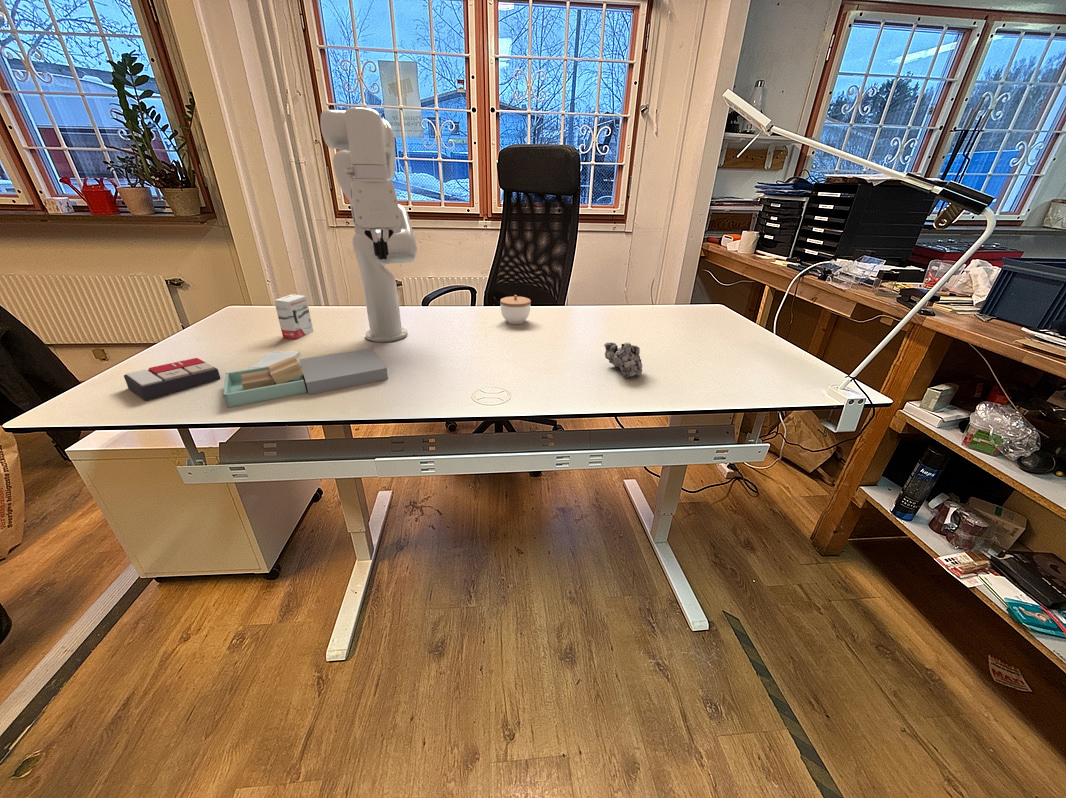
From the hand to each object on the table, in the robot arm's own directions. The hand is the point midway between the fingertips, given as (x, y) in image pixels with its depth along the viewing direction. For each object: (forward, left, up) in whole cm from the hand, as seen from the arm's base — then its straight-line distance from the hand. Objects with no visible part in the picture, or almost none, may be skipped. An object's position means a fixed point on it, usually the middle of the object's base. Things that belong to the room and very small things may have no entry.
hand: (382, 258), depth 104 cm
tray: (+3, -31, -27) cm, 41 cm away
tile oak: (+3, -26, -25) cm, 36 cm away
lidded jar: (-17, +47, -27) cm, 57 cm away
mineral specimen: (+36, +51, -27) cm, 68 cm away
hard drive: (-13, -29, -28) cm, 42 cm away
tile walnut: (+3, -32, -27) cm, 42 cm away
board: (+3, -14, -27) cm, 31 cm away
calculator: (-10, -50, -28) cm, 58 cm away
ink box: (-36, -21, -27) cm, 50 cm away
